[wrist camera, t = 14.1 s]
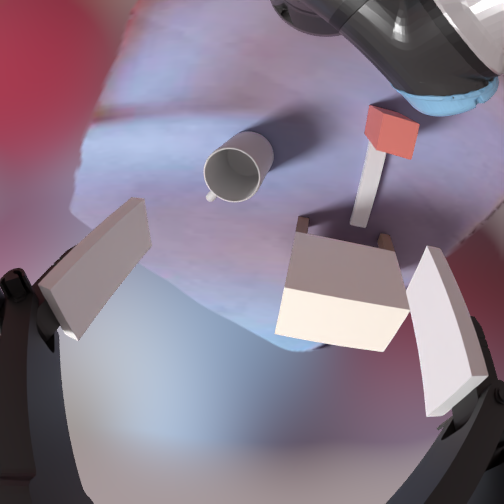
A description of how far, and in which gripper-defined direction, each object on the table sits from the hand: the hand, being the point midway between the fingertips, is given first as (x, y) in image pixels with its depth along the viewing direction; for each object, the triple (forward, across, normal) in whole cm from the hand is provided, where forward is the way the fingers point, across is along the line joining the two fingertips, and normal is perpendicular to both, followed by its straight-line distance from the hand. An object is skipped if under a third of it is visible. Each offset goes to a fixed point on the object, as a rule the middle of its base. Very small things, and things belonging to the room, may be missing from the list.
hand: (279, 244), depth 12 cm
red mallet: (+37, +11, -6) cm, 39 cm away
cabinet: (+37, +9, -23) cm, 44 cm away
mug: (+37, -11, -9) cm, 39 cm away
